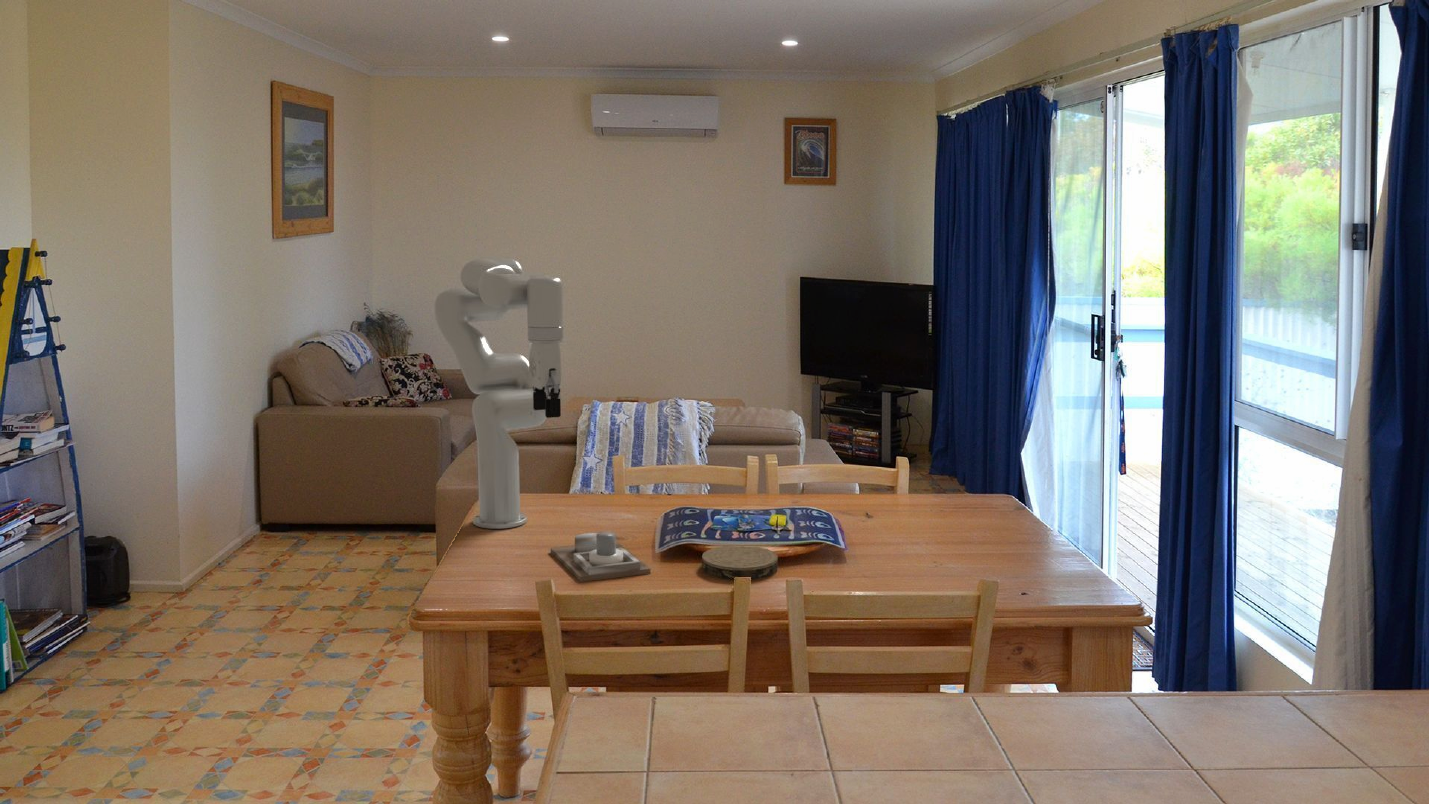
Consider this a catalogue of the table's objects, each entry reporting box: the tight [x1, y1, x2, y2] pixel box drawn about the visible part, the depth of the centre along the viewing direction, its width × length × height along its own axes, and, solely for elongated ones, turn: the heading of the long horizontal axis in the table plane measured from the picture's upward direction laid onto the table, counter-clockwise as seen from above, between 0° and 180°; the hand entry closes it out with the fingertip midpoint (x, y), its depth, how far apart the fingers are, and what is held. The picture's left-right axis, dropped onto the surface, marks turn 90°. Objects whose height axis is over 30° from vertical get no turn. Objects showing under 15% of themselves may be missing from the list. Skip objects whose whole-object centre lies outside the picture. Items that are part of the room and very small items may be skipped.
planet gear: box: [589, 531, 623, 566], centre depth 250 cm, size 7×7×6 cm
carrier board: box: [550, 532, 651, 583], centre depth 255 cm, size 22×15×4 cm
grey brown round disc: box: [701, 545, 779, 581], centre depth 252 cm, size 16×16×3 cm
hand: (546, 413), depth 260 cm, fingers open, 9 cm apart
